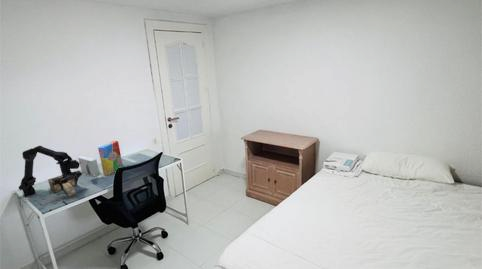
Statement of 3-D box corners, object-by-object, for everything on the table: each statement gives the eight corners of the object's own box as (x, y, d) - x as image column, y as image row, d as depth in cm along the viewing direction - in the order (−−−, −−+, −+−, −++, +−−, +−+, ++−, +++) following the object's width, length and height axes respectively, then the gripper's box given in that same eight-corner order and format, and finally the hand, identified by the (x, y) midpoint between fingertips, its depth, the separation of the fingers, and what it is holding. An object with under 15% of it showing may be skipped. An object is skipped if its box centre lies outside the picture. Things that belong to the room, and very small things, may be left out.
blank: (69, 196, 194) (67, 189, 192) (64, 190, 202) (62, 184, 201) (75, 193, 196) (73, 187, 195) (69, 188, 205) (67, 182, 204)
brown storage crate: (54, 192, 199) (51, 182, 196) (50, 189, 204) (47, 179, 202) (76, 185, 211) (73, 175, 208) (72, 182, 216) (70, 172, 213)
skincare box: (81, 172, 235) (77, 157, 230) (86, 170, 239) (83, 155, 235) (94, 176, 225) (91, 160, 221) (100, 174, 230) (96, 158, 225)
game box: (108, 175, 227) (102, 147, 219) (103, 175, 228) (97, 147, 220) (123, 166, 246) (118, 140, 238) (118, 166, 247) (113, 140, 239)
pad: (42, 205, 181) (42, 205, 181) (39, 202, 185) (39, 202, 185) (67, 196, 193) (67, 195, 193) (64, 193, 197) (64, 193, 197)
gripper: (54, 175, 178) (59, 194, 183) (82, 166, 192) (86, 184, 196) (49, 172, 185) (54, 190, 189) (77, 163, 199) (81, 181, 203)
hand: (70, 186), depth 194 cm, fingers open, 9 cm apart
